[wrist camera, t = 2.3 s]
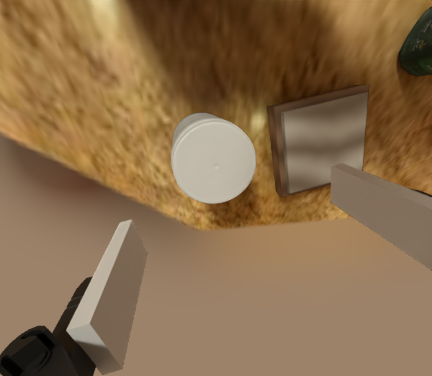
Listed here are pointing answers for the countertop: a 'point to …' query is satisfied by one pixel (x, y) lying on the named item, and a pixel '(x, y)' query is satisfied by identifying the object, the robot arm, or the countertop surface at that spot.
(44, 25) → the countertop surface
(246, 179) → the supplement tub
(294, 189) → the plinth
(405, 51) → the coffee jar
